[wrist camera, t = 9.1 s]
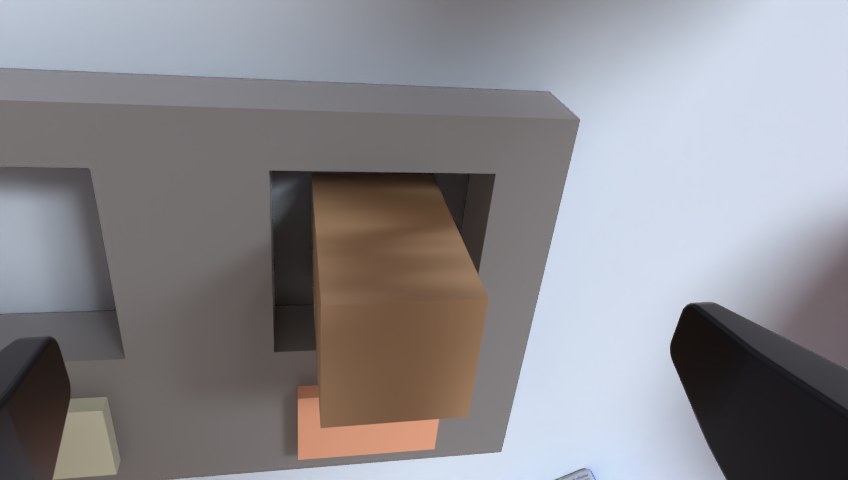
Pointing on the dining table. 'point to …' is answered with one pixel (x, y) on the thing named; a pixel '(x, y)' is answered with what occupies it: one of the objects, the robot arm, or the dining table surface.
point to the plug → (392, 301)
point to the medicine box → (580, 475)
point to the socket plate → (264, 258)
